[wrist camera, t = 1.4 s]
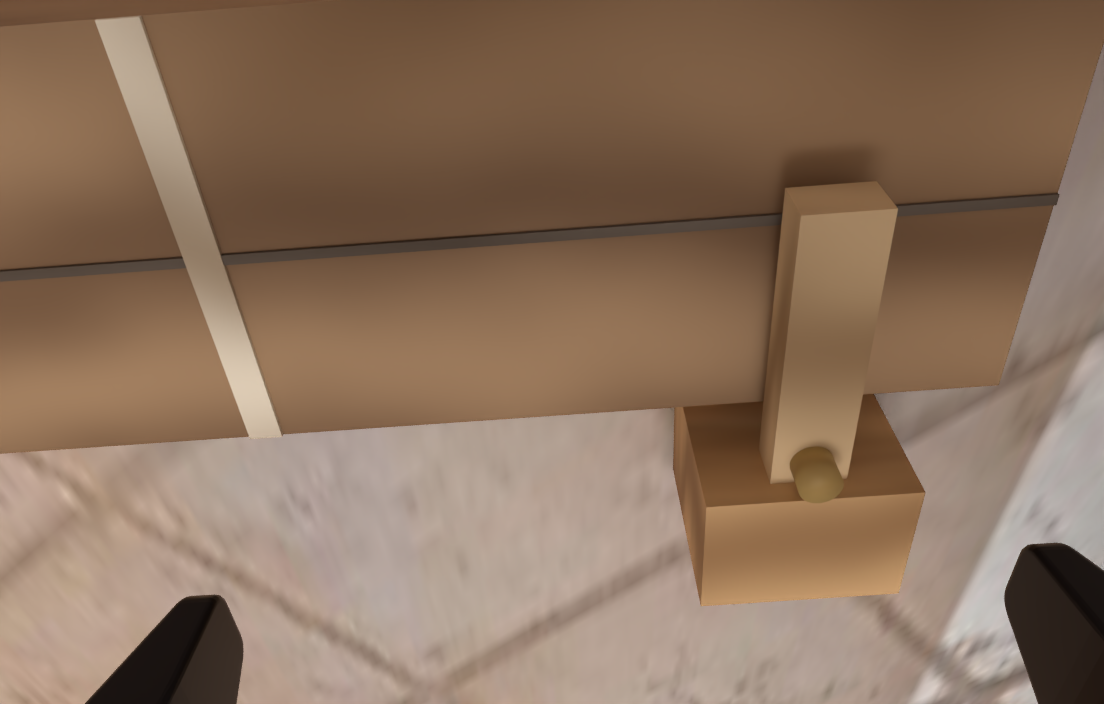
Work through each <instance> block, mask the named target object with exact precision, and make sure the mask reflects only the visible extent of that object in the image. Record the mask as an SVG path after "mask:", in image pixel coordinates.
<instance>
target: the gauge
mask: <svg viewBox="0 0 1104 704" xmlns="http://www.w3.org/2000/svg"><path fill="white" fill-rule="evenodd" d="M897 212H898V208H897V207H896V205H895V204H894V203H893V201H892V200H891V199H890V198H889V196H888V195H887V194H886V193H885V191H884V190H883V189H882V187H881V186H880V185H879V184H878V182H877V181H871V182H858V183H844V184H831V185H817V186H804V187H790V188H785V195H784V204H783V214H782V224H781V234H780V244H779V254H778V264H777V274H776V284H775V293H774V303H773V313H772V323H771V333H770V343H769V353H768V363H767V373H766V383H765V392H764V401H760V402H745V403H731V404H716V405H701V406H687V407H675V412H674V459H673V470H674V475H675V480H676V485H677V490H678V495H679V500H680V505H681V510H682V515H683V520H684V525H685V530H686V535H687V540H688V545H689V550H690V555H691V560H692V564H693V569H694V574H695V579H696V584H697V589H698V594H699V599H700V604H701V606H710V605H726V604H741V603H757V602H772V601H787V600H803V599H818V598H833V597H849V596H864V595H880V594H895V593H899V590H900V586H901V582H902V578H903V575H904V571H905V567H906V563H907V560H908V556H909V552H910V548H911V545H912V541H913V537H914V533H915V530H916V526H917V522H918V519H919V515H920V511H921V507H922V504H923V500H924V496H925V491H924V489H923V487H922V485H921V483H920V481H919V479H918V477H917V476H916V474H915V472H914V470H913V468H912V466H911V464H910V462H909V460H908V458H907V457H906V455H905V453H904V451H903V449H902V447H901V445H900V443H899V441H898V440H897V438H896V436H895V434H894V432H893V430H892V428H891V426H890V424H889V422H888V421H887V419H886V417H885V415H884V413H883V411H882V409H881V407H880V405H879V403H878V402H877V400H876V398H875V396H874V394H863V392H864V387H865V381H866V376H867V371H868V365H869V360H870V355H871V349H872V344H873V339H874V334H875V328H876V323H877V318H878V312H879V307H880V302H881V296H882V291H883V286H884V281H885V275H886V270H887V265H888V259H889V254H890V249H891V244H892V238H893V233H894V228H895V222H896V217H897Z"/></svg>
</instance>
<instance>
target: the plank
mask: <svg viewBox="0 0 1104 704" xmlns="http://www.w3.org/2000/svg"><path fill="white" fill-rule="evenodd" d="M1103 43H1104V0H0V454H2V453H16V452H31V451H45V450H60V449H75V448H89V447H104V446H118V445H133V444H147V443H162V442H177V441H191V440H206V439H220V438H235V437H249V438H250V439H259V438H273V437H282V436H283V434H293V433H308V432H322V431H337V430H352V429H366V428H381V427H395V426H410V425H424V424H439V423H454V422H468V421H483V420H497V419H512V418H527V417H541V416H556V415H570V414H585V413H599V412H614V411H629V410H643V409H658V408H672V407H687V406H701V405H716V404H731V403H745V402H760V401H764V392H765V383H766V373H767V363H768V353H769V343H770V333H771V323H772V313H773V303H774V293H775V284H776V274H777V264H778V254H779V244H780V234H781V224H782V214H783V204H784V195H785V188H790V187H804V186H817V185H831V184H844V183H858V182H871V181H877V182H878V184H879V185H880V186H881V187H882V189H883V190H884V191H885V193H886V194H887V195H888V196H889V198H890V199H891V200H892V201H893V203H894V204H895V205H896V207H897V208H898V212H897V217H896V222H895V228H894V233H893V238H892V244H891V249H890V254H889V259H888V265H887V270H886V275H885V281H884V286H883V291H882V296H881V302H880V307H879V312H878V318H877V323H876V328H875V334H874V339H873V344H872V349H871V355H870V360H869V365H868V371H867V376H866V381H865V387H864V392H863V394H876V393H891V392H906V391H920V390H935V389H949V388H964V387H979V386H993V385H999V382H1000V379H1001V376H1002V372H1003V369H1004V366H1005V363H1006V359H1007V356H1008V353H1009V350H1010V346H1011V343H1012V340H1013V336H1014V333H1015V330H1016V327H1017V323H1018V320H1019V317H1020V314H1021V310H1022V307H1023V304H1024V301H1025V297H1026V294H1027V291H1028V288H1029V284H1030V281H1031V278H1032V275H1033V271H1034V268H1035V265H1036V261H1037V258H1038V255H1039V252H1040V248H1041V245H1042V242H1043V239H1044V235H1045V232H1046V229H1047V226H1048V222H1049V219H1050V216H1051V213H1052V209H1053V206H1054V205H1056V204H1057V201H1058V198H1059V194H1058V190H1059V187H1060V183H1061V180H1062V177H1063V173H1064V170H1065V167H1066V164H1067V160H1068V157H1069V154H1070V151H1071V147H1072V144H1073V141H1074V138H1075V134H1076V131H1077V128H1078V125H1079V121H1080V118H1081V115H1082V112H1083V108H1084V105H1085V102H1086V98H1087V95H1088V92H1089V89H1090V85H1091V82H1092V79H1093V76H1094V72H1095V69H1096V66H1097V63H1098V59H1099V56H1100V53H1101V50H1102V46H1103Z"/></svg>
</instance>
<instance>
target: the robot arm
mask: <svg viewBox="0 0 1104 704" xmlns="http://www.w3.org/2000/svg"><path fill="white" fill-rule="evenodd" d="M1004 599H1005V607H1006V612H1007V615H1008V618H1009V621H1010V623H1011V626H1012V629H1013V632H1014V635H1015V638H1016V641H1017V644H1018V647H1019V650H1020V652H1021V655H1022V658H1023V661H1024V664H1025V667H1026V670H1027V673H1028V676H1029V679H1030V681H1031V684H1032V687H1033V690H1034V693H1035V696H1036V699H1037V702H1038V704H1104V570H1102V569H1101V568H1099V567H1098V566H1097V565H1095V564H1094V563H1093V562H1091V561H1090V560H1088V559H1087V558H1086V557H1084V556H1083V555H1082V554H1080V553H1079V552H1077V551H1076V550H1075V549H1073V548H1071V547H1070V546H1068V545H1065V544H1062V543H1044V544H1031V545H1027V546H1026V547H1025V548H1023V549H1022V551H1021V552H1020V555H1019V557H1018V560H1017V562H1016V565H1015V567H1014V569H1013V572H1012V574H1011V577H1010V579H1009V582H1008V584H1007V586H1006V590H1005V596H1004ZM242 662H243V641H242V637H241V634H240V632H239V630H238V628H237V625H236V623H235V621H234V619H233V616H232V614H231V612H230V610H229V607H228V605H227V603H226V601H225V600H224V598H222V597H221V596H220V595H200V596H189V597H186V598H184V599H182V600H181V601H179V602H178V603H177V604H176V605H175V606H174V607H173V608H172V609H171V611H170V612H169V613H168V614H167V615H166V616H165V617H164V618H163V619H162V620H161V621H160V623H159V624H158V625H157V626H156V627H155V628H154V629H153V630H152V631H151V632H150V633H149V634H148V636H147V637H146V638H145V639H144V640H143V641H142V642H141V643H140V644H139V645H138V646H137V647H136V649H135V650H134V651H133V652H132V653H131V654H130V655H129V656H128V657H127V658H126V659H125V661H124V662H123V663H122V664H121V665H120V666H119V667H118V668H117V669H116V670H115V671H114V672H113V674H112V675H111V676H110V677H109V678H108V679H107V680H106V681H105V682H104V683H103V684H102V686H101V687H100V688H99V689H98V690H97V691H96V692H95V693H94V694H93V695H92V696H91V697H90V699H89V700H88V701H87V702H86V703H85V704H236V703H237V696H238V689H239V683H240V676H241V669H242Z"/></svg>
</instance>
